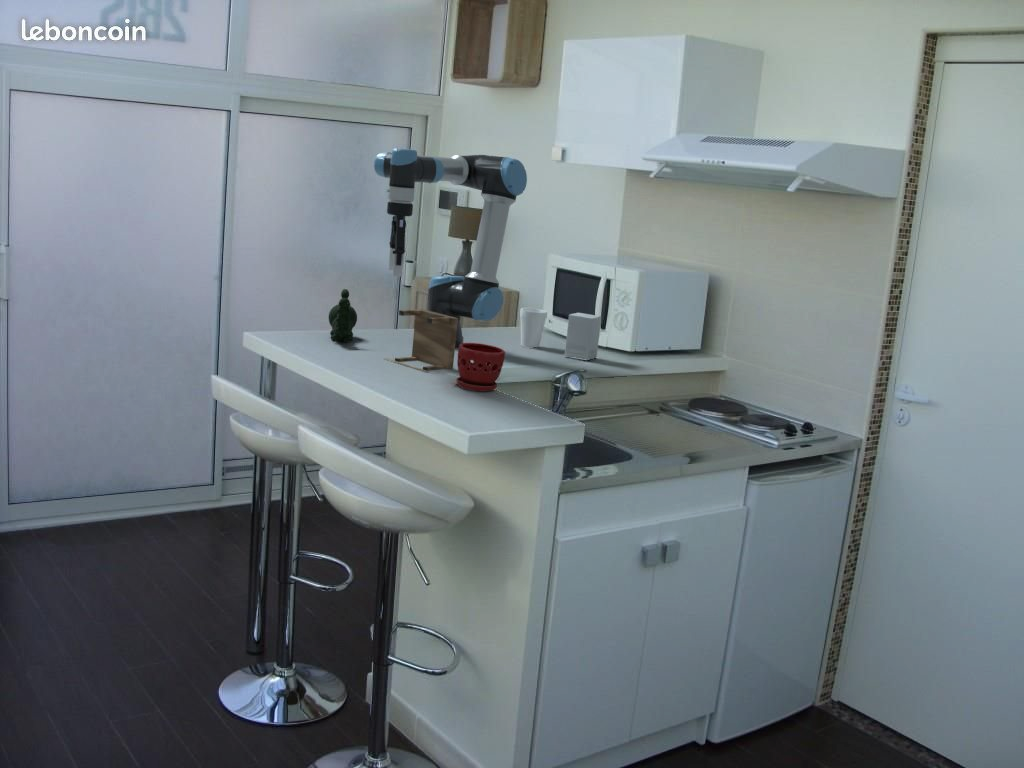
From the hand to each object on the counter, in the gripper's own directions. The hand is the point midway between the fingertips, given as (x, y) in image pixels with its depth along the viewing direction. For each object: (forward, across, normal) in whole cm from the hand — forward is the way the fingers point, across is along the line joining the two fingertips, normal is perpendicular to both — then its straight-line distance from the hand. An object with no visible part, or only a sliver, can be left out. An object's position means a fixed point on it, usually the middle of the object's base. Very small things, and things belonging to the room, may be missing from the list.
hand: (394, 273), depth 331 cm
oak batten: (+27, +10, +4) cm, 29 cm away
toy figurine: (+27, -31, -13) cm, 43 cm away
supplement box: (+28, -28, +69) cm, 80 cm away
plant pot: (+27, +31, +23) cm, 47 cm away
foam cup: (+28, -44, +54) cm, 75 cm away
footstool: (+27, +7, +10) cm, 29 cm away
